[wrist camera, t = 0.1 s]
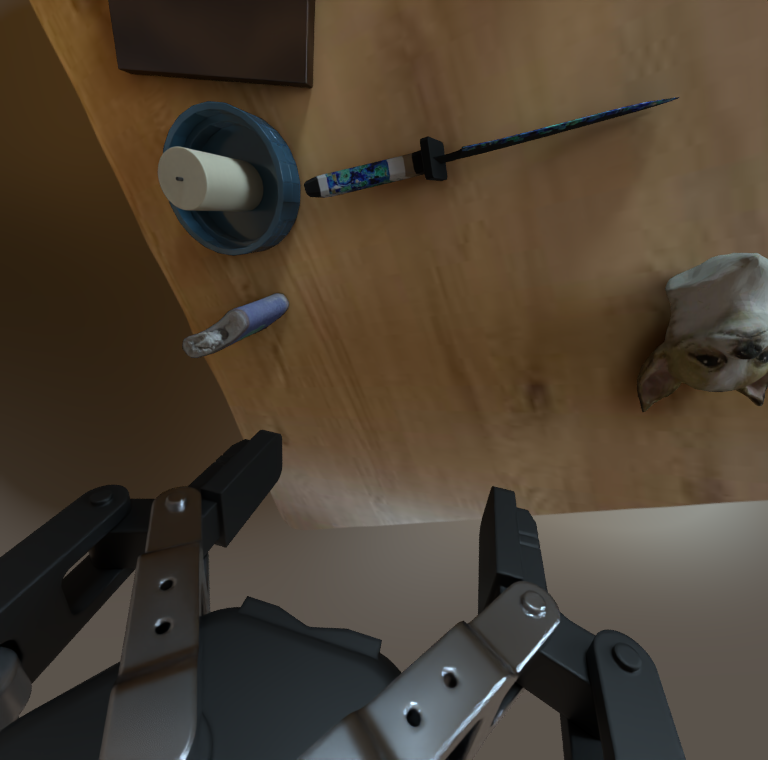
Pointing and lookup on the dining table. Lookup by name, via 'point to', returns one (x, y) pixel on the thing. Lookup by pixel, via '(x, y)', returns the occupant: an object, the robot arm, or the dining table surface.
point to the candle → (208, 181)
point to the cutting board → (217, 39)
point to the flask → (236, 326)
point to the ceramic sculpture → (713, 331)
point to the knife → (440, 157)
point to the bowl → (264, 152)
